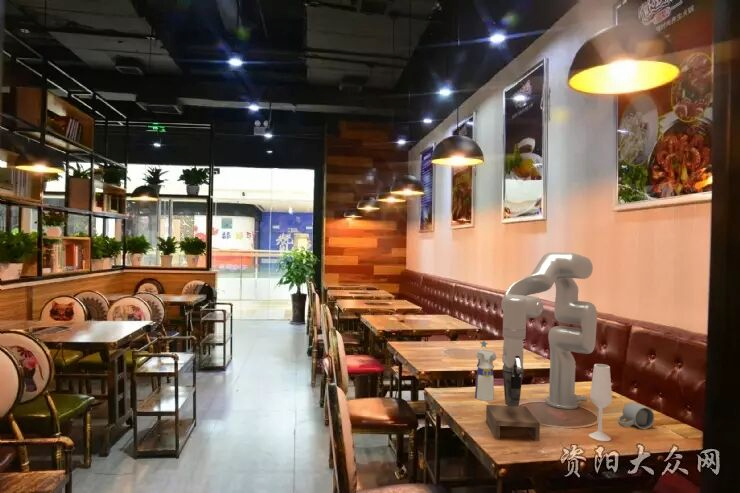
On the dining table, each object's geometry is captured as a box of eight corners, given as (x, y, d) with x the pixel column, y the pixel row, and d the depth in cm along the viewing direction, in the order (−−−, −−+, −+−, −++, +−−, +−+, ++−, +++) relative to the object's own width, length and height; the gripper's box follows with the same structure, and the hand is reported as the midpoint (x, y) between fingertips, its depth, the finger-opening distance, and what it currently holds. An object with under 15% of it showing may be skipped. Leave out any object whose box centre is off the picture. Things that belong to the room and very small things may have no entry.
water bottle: (497, 401, 195) (499, 340, 195) (476, 401, 195) (478, 339, 195) (492, 395, 203) (494, 336, 203) (472, 394, 203) (474, 336, 203)
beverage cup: (524, 408, 159) (526, 349, 159) (501, 406, 161) (503, 347, 161) (521, 402, 166) (523, 344, 166) (500, 400, 168) (501, 343, 168)
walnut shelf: (525, 423, 171) (525, 406, 171) (539, 441, 155) (539, 422, 155) (486, 421, 172) (486, 404, 172) (495, 439, 156) (496, 420, 156)
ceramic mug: (638, 420, 177) (639, 399, 177) (654, 428, 169) (655, 407, 169) (612, 421, 176) (612, 400, 176) (627, 430, 168) (627, 408, 168)
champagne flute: (584, 434, 162) (586, 364, 162) (598, 431, 165) (600, 362, 165) (600, 442, 156) (603, 368, 156) (615, 439, 159) (617, 367, 159)
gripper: (497, 328, 172) (495, 377, 172) (509, 337, 155) (507, 392, 155) (518, 329, 172) (516, 378, 172) (532, 338, 155) (531, 393, 155)
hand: (512, 384), depth 164 cm, fingers closed on beverage cup, 6 cm apart
